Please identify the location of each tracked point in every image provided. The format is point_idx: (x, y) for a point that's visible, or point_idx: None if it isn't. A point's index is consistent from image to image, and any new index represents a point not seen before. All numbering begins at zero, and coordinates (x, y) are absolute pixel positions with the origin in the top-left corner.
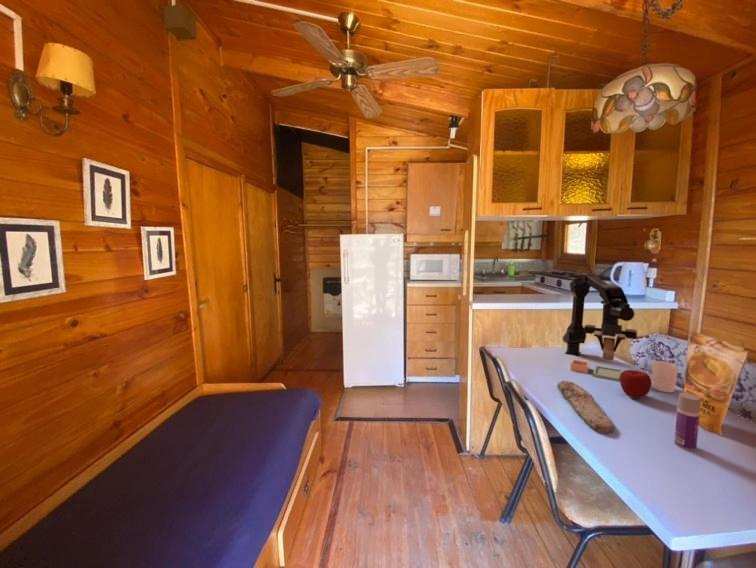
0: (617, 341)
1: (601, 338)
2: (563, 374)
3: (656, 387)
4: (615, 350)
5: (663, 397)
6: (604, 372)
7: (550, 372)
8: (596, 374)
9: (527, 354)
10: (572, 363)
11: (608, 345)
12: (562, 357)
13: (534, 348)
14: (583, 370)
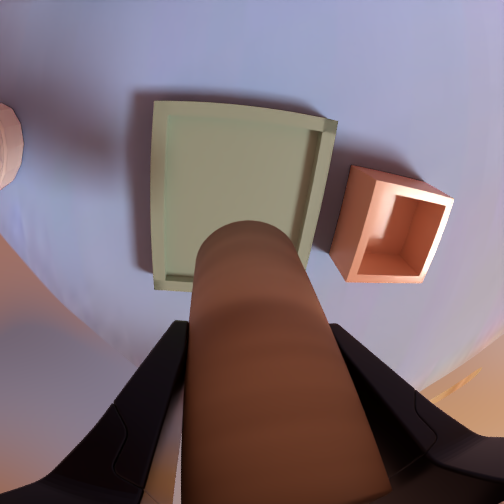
0: (110, 480)
1: (446, 461)
2: (456, 118)
3: (4, 109)
4: (169, 332)
5: (5, 29)
6: (254, 211)
7: (491, 131)
8: (315, 116)
9: (491, 309)
10: (444, 209)
11: (293, 368)
12: (400, 349)
13: (448, 371)
14: (381, 174)
